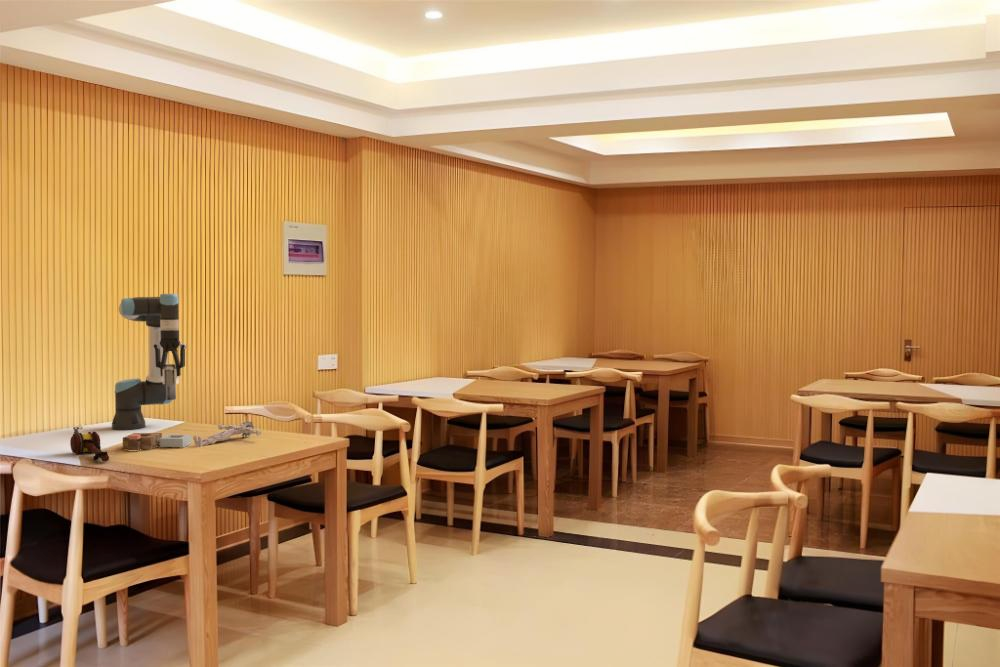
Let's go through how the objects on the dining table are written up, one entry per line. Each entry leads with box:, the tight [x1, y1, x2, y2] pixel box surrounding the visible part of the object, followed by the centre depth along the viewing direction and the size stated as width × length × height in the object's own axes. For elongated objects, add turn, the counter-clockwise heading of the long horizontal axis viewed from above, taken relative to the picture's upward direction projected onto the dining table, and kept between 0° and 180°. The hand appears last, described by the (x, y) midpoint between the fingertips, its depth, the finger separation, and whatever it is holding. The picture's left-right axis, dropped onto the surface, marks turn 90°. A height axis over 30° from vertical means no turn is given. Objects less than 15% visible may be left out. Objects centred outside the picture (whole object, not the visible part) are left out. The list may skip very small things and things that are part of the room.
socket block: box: [122, 432, 163, 451], centre depth 380 cm, size 16×12×5 cm
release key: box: [129, 433, 141, 442], centre depth 374 cm, size 4×4×6 cm
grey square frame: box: [159, 434, 192, 449], centre depth 385 cm, size 10×10×4 cm
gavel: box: [69, 426, 110, 463], centre depth 361 cm, size 10×34×10 cm
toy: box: [192, 420, 262, 447], centre depth 397 cm, size 28×8×30 cm
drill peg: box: [165, 363, 177, 401], centre depth 383 cm, size 4×4×15 cm
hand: (170, 383), depth 383 cm, fingers closed on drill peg, 4 cm apart
